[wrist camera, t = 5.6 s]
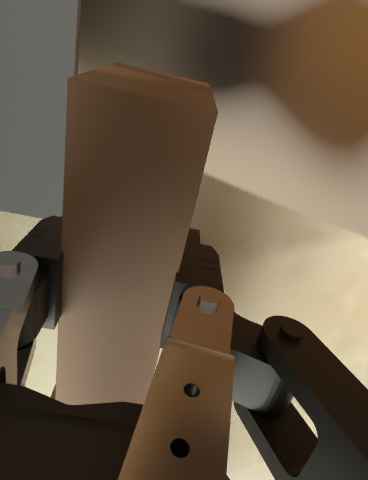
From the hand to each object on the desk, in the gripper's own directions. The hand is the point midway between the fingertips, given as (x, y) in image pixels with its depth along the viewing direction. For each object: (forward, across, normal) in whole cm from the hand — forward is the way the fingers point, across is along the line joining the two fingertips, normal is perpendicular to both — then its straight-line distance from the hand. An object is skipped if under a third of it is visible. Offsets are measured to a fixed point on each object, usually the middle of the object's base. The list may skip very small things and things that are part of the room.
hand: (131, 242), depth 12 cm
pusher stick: (+2, 0, +3) cm, 3 cm away
